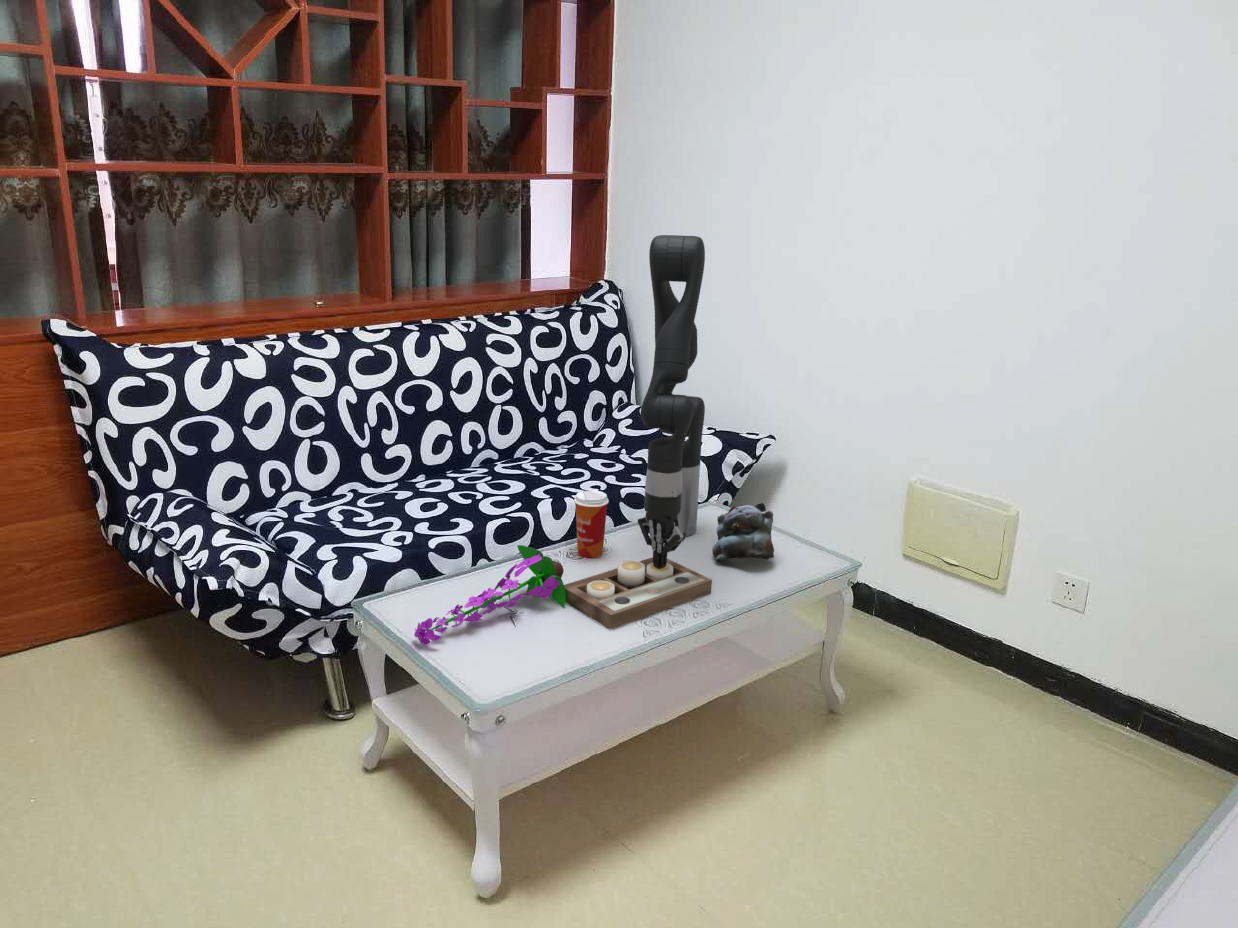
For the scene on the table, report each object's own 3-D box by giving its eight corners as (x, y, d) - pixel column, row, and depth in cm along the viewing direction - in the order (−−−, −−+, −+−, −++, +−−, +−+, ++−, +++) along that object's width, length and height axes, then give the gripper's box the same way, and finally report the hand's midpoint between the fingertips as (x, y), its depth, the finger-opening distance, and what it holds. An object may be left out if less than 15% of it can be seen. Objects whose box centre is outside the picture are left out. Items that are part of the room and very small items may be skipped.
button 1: (580, 598, 195) (581, 584, 194) (602, 591, 198) (602, 577, 197) (598, 608, 191) (598, 594, 190) (619, 601, 194) (620, 586, 193)
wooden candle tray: (560, 599, 196) (560, 584, 195) (659, 567, 212) (660, 553, 211) (610, 629, 184) (611, 613, 183) (711, 593, 201) (712, 578, 200)
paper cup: (567, 549, 220) (569, 491, 216) (598, 544, 223) (600, 487, 219) (581, 562, 214) (582, 502, 209) (612, 557, 217) (614, 498, 212)
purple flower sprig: (574, 613, 199) (440, 689, 174) (524, 557, 205) (387, 623, 180) (595, 577, 191) (457, 650, 167) (543, 519, 197) (402, 583, 173)
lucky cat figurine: (700, 560, 216) (702, 499, 219) (728, 566, 226) (729, 507, 229) (759, 558, 207) (760, 495, 210) (785, 564, 217) (786, 503, 220)
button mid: (611, 578, 199) (612, 564, 198) (632, 571, 202) (633, 557, 201) (629, 587, 195) (630, 573, 194) (650, 580, 198) (650, 566, 197)
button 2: (640, 579, 205) (641, 565, 204) (660, 572, 208) (660, 559, 207) (658, 588, 201) (659, 574, 200) (678, 581, 204) (678, 567, 203)
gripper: (628, 484, 200) (625, 561, 206) (671, 501, 191) (667, 582, 196) (655, 477, 205) (651, 553, 210) (699, 494, 195) (694, 573, 201)
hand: (659, 567), depth 203 cm, fingers closed
